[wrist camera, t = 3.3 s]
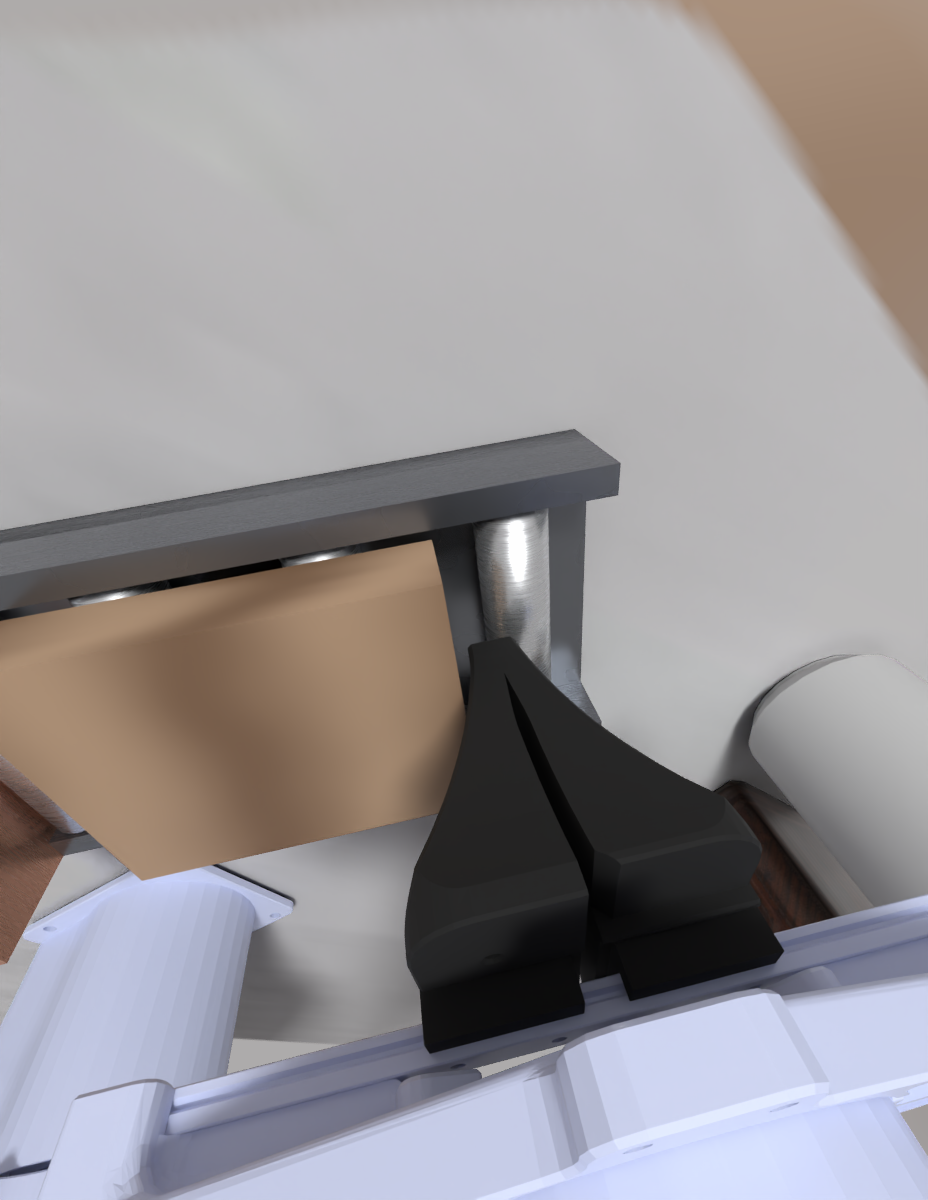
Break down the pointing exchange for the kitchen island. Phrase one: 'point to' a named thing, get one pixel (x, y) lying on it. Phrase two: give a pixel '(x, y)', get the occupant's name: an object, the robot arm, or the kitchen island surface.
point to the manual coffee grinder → (792, 864)
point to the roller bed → (332, 526)
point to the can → (855, 766)
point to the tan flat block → (240, 709)
